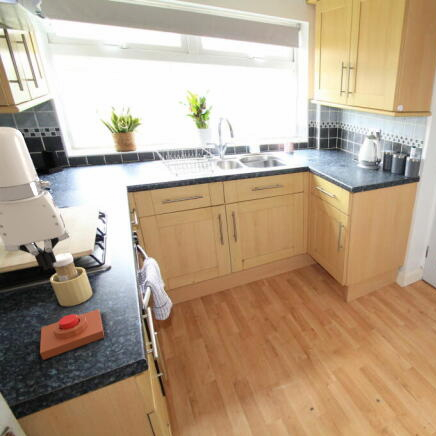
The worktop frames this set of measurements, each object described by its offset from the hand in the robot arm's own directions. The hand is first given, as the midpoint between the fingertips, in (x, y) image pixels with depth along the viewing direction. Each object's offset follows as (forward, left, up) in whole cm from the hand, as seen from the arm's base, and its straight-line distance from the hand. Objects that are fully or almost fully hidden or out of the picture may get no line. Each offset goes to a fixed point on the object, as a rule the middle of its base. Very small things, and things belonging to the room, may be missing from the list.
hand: (49, 266), depth 72 cm
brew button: (0, 0, -17) cm, 17 cm away
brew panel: (0, 0, -21) cm, 21 cm away
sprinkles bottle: (+1, +18, -20) cm, 27 cm away
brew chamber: (+1, +18, -21) cm, 28 cm away
